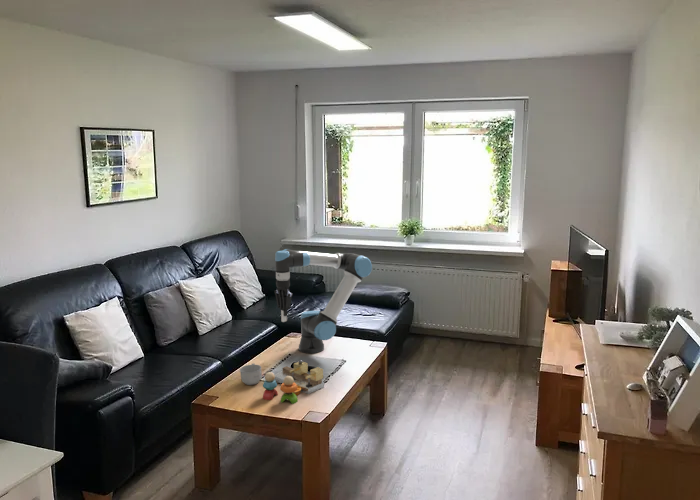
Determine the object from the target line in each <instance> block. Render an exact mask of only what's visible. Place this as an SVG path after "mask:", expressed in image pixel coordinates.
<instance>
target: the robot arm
mask: <svg viewBox="0 0 700 500" xmlns="http://www.w3.org/2000/svg"><path fill="white" fill-rule="evenodd" d="M274 255H275V258H274V261H275V279H276V280H275V286H276V290H275V289H274V291H273V293H274V295H275V301H276V304H277V309H279V310H280V316H281V318H280V319H281V322H282V323H285V322H287V321H288V310H290V309H291V304H292V297H293V295H294V294H293V293H292V292H290V291H291V290H290V287H291V280H290V278H291V273H290V272H291V271H290V269H291V268H302V267H307V266H309V265H310V266H311V265H312V266H321V267H330V268H334V269H336V270H341V271H343V273H344V276H343V277H342V279H341V281H340V283H339V284H338V285H337V288H336V289H335V291H334V292H333V295H332V296H331V298H330V299H329V301H328V302H327V304H326V306H325V308H324V309H323V310H322V311H320V310H308V311H307V310H306V311H303V312H302V313H301V314H300V328H301V330H300V332H301V333H300V335H301V337H300V341H299V344H298V351H299V352H300V353H305V354H317V353H321V352H322V351H323V352H324V350H325V343H324V341H328V340H331V339H332V338H334V336H335V334H336V333H337V324H338V316H339V315H340V313H341V312H342V310H343V308H344V306H345V305H346V304H347V301H348V299H349V298H350V296H351V295H352V293H353V291H354V289H355V288H356V286H357V285H358V283H360V282H362V281H363V279H364V278H366V277H368V276H370V274H371V273H372V269H373V265H372V262H371V259H369V257H367V256H364V255H361V254H357V253H353V252H352V253H351V252H335V253H326V252H313V251H307V250H306V251H303V250H294V249H290V248H285V249H283V250H278V251H276V252H275V254H274Z"/></svg>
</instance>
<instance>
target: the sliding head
mask: <svg viewBox="0 0 700 500" xmlns="http://www.w3.org/2000/svg"><path fill="white" fill-rule="evenodd" d="M308 370H309V365H308V362H305V361H303V359H298V361H297V362H294V363H293V370H291V371H289V373H292V378H293V379H294V373H297V374H299V375H302V374H304V373H307V374H308V373H309V371H308Z"/></svg>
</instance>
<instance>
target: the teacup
mask: <svg viewBox="0 0 700 500" xmlns="http://www.w3.org/2000/svg"><path fill="white" fill-rule="evenodd" d="M239 373H240V379H241V381H242V383H244V384H245V385H247V386H253V385H254V386H255V385H257V384H258V383H259V382H260V381H261V380H262V377H263V375H262V365H260V364H256V363H254V362H253V363H251V364H248V365H244V366H241V367H240V368H239Z"/></svg>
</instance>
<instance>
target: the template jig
mask: <svg viewBox="0 0 700 500" xmlns="http://www.w3.org/2000/svg"><path fill="white" fill-rule="evenodd" d="M293 369H294V367H293V368H292V367H290V366H284V367H282V370H281V371H279V372H277V373H273V374H274V375H275V379H274V380H275V381H277V382H276V383H280V384H281V383H284V378H285V377H286V376H291V377H292V373H289V371H291V370H293ZM309 372H310V373H308V372H307V373H304V374H302V375H299V374H297V373H294V383H296V385H297V386H299V387H301V392H302V393H305V394H307V395H310V394H312V393H313V392H316V391H318V390H320V389H323V388H325V382H324V381H323V379H324V368H322V367H321V368H320V367H318V366H317V367H314V368H312V369H310V370H309Z"/></svg>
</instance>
